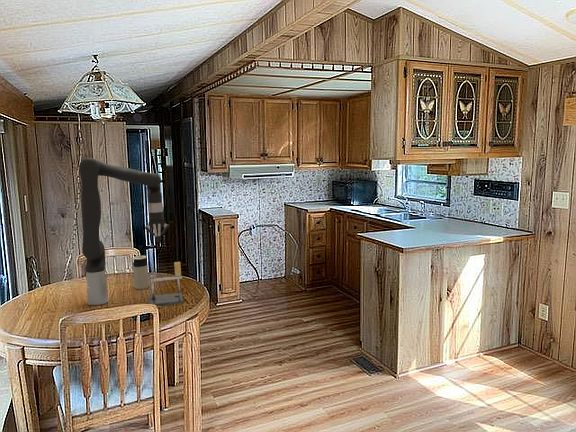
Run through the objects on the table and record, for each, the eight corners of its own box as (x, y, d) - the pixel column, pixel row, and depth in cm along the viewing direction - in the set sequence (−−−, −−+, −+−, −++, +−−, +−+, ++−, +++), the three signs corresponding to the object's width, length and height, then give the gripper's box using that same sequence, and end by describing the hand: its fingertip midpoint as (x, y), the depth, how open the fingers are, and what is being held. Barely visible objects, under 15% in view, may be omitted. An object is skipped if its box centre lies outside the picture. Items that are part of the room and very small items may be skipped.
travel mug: (141, 290, 253) (138, 259, 250) (131, 288, 257) (129, 257, 255) (152, 286, 260) (149, 256, 257) (142, 284, 264) (140, 254, 261)
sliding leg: (176, 297, 233) (174, 264, 230) (176, 294, 236) (174, 262, 234) (182, 296, 233) (180, 263, 231) (182, 294, 237) (180, 261, 235)
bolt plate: (148, 307, 224) (146, 279, 222) (149, 298, 238) (147, 272, 236) (183, 303, 229) (182, 276, 227) (182, 295, 242) (181, 269, 240)
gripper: (142, 212, 232) (145, 245, 235) (168, 211, 236) (170, 243, 238) (143, 210, 239) (145, 242, 242) (168, 209, 243) (170, 240, 245)
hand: (158, 242), depth 240 cm, fingers closed
